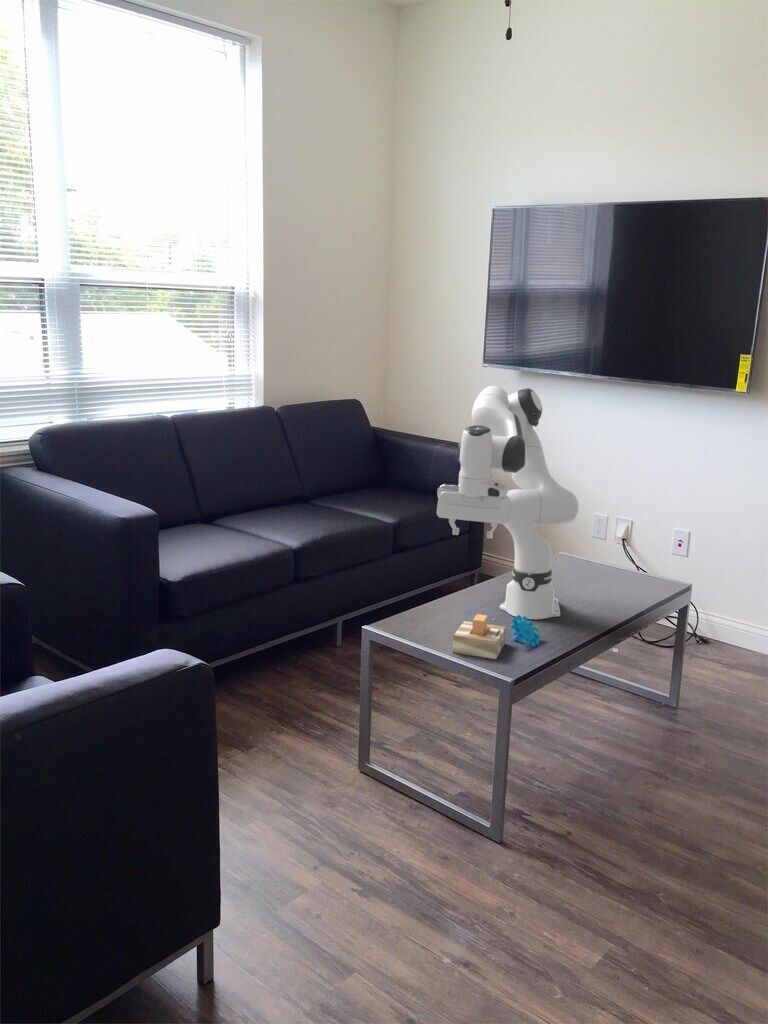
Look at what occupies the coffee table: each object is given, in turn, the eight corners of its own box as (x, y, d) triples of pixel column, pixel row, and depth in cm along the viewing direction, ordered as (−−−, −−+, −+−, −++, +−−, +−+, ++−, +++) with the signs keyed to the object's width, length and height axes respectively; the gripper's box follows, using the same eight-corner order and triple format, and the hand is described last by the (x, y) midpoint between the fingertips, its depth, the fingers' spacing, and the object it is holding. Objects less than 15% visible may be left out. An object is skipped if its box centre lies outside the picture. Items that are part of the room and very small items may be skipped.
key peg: (471, 650, 238) (472, 619, 236) (475, 644, 243) (477, 614, 241) (482, 652, 237) (483, 621, 235) (486, 645, 242) (487, 615, 240)
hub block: (463, 637, 247) (464, 620, 246) (504, 643, 244) (505, 626, 242) (452, 652, 236) (453, 634, 235) (495, 659, 232) (496, 640, 231)
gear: (524, 647, 237) (508, 615, 241) (510, 657, 241) (495, 625, 245) (549, 643, 244) (533, 612, 249) (535, 652, 248) (520, 622, 252)
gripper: (434, 485, 234) (432, 535, 237) (509, 492, 228) (506, 542, 231) (440, 481, 240) (438, 529, 243) (513, 487, 233) (511, 537, 237)
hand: (472, 536), depth 237 cm, fingers open, 8 cm apart
